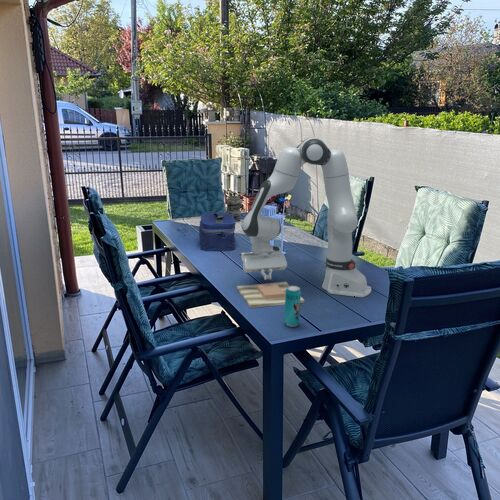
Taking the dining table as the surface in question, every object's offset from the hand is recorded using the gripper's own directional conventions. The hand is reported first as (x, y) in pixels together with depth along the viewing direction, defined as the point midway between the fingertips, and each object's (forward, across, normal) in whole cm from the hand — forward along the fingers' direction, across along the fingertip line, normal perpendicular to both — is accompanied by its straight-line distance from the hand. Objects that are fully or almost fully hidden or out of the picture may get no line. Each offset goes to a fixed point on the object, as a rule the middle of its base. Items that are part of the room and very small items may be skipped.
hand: (268, 279), depth 218 cm
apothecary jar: (-102, +20, +112) cm, 152 cm away
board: (+6, 0, +3) cm, 7 cm away
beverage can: (+29, -1, -19) cm, 35 cm away
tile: (+2, 0, +5) cm, 5 cm away
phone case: (-33, +7, +44) cm, 55 cm away
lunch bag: (-55, -6, +65) cm, 86 cm away
